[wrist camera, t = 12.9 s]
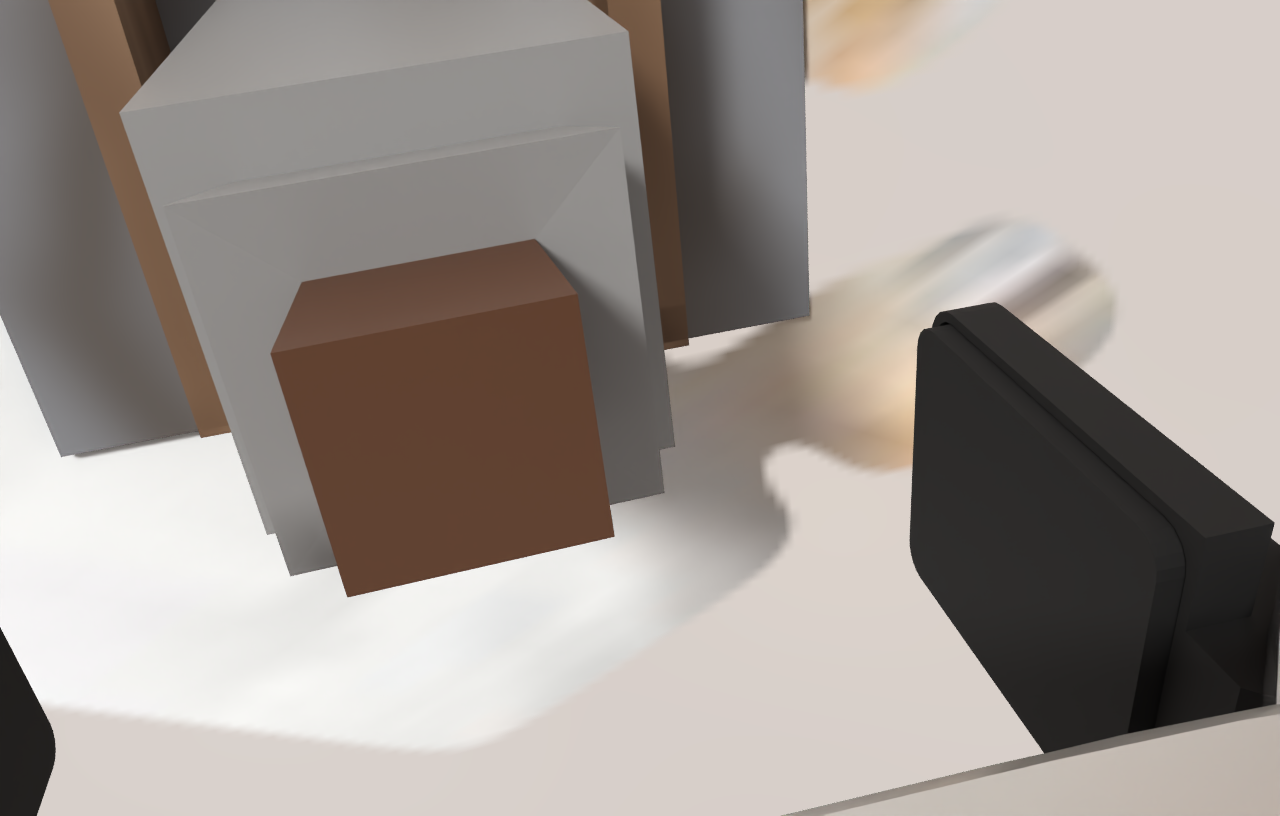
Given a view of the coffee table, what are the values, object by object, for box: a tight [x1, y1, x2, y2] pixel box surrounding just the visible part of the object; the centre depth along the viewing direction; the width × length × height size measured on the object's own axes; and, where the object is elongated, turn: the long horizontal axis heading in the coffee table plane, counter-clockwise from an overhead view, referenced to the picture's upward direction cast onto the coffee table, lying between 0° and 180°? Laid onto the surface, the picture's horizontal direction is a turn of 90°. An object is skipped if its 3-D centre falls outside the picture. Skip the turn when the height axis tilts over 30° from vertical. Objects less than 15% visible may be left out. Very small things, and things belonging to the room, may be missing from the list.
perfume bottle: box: [119, 0, 675, 597], centre depth 20 cm, size 7×7×18 cm
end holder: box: [0, 0, 809, 457], centre depth 26 cm, size 22×16×4 cm
